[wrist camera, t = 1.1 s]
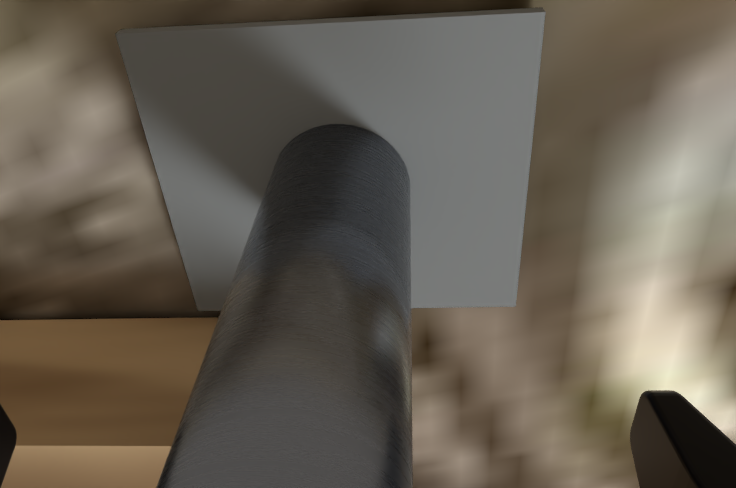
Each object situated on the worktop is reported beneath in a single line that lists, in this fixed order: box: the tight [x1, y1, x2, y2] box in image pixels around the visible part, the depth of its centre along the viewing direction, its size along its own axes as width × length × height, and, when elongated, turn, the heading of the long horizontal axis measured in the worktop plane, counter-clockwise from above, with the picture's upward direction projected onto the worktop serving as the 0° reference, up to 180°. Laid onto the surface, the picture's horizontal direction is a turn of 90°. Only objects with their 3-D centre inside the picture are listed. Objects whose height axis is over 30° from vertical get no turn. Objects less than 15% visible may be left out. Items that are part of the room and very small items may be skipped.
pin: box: [156, 124, 413, 488], centre depth 9 cm, size 3×3×10 cm
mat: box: [115, 8, 545, 311], centre depth 13 cm, size 7×8×1 cm
